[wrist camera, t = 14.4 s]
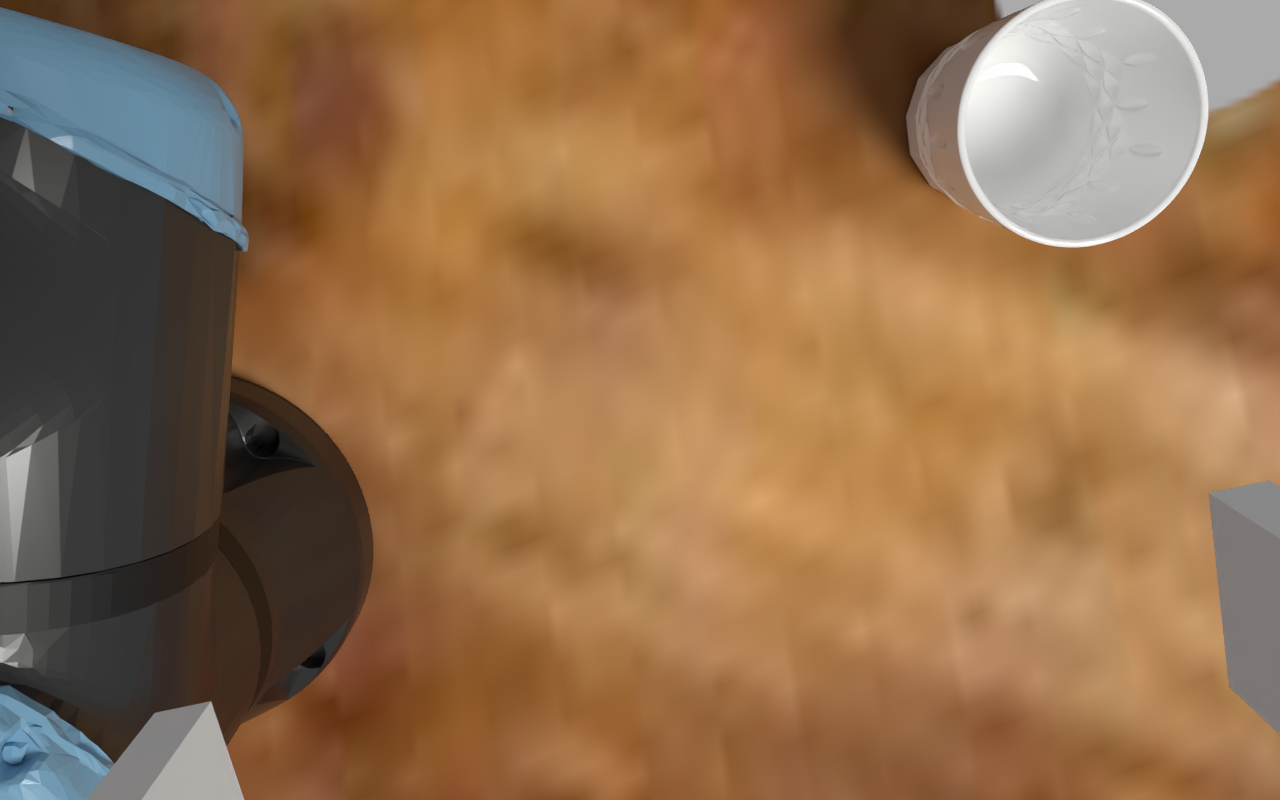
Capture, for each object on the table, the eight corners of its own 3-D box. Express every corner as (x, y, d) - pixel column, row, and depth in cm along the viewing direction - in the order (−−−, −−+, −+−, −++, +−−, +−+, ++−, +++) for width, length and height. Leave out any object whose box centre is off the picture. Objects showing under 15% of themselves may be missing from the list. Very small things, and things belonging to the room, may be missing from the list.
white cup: (878, 36, 46) (944, 13, 36) (1080, 0, 45) (1201, -32, 36) (902, 236, 47) (971, 266, 38) (1096, 203, 47) (1216, 225, 37)
